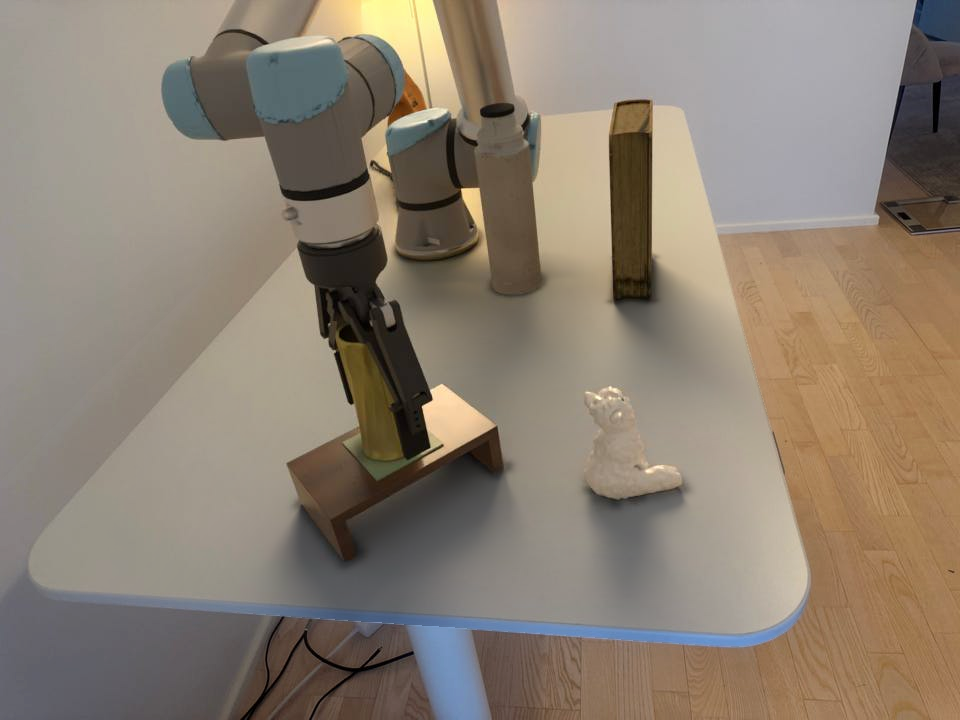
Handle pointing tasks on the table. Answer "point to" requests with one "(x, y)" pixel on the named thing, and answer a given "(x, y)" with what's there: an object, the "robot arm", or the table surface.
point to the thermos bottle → (507, 201)
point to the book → (631, 197)
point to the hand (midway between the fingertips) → (387, 423)
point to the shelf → (387, 466)
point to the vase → (369, 397)
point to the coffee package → (408, 101)
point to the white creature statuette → (621, 451)
